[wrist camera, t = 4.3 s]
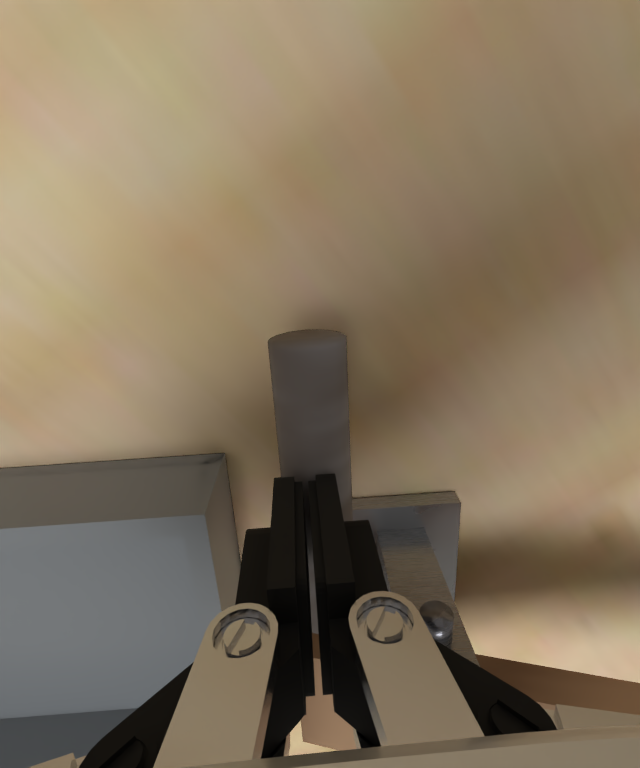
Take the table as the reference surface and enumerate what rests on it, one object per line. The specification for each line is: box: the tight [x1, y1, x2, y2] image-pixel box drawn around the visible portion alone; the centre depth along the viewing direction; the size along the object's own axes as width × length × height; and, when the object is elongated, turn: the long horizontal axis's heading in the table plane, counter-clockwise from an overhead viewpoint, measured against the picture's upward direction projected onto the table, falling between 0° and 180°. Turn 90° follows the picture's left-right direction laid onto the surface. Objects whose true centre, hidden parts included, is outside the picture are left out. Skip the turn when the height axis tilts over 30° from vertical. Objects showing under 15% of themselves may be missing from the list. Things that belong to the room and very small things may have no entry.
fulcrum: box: [352, 491, 480, 667], centre depth 17 cm, size 5×9×7 cm, turn 3°
